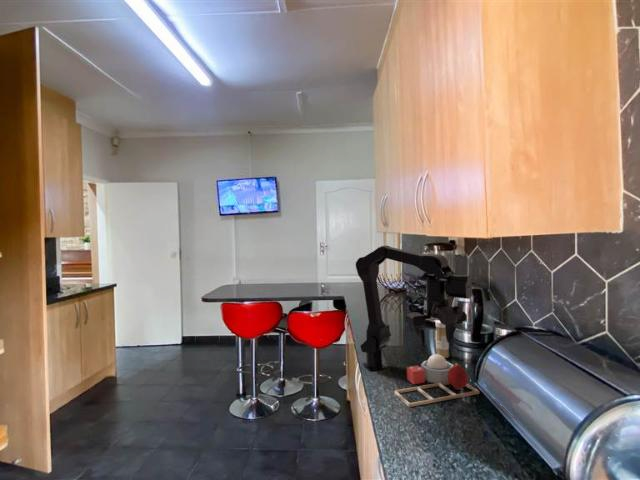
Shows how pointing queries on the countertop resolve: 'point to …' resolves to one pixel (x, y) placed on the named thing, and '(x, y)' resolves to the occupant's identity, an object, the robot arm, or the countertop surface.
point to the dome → (437, 362)
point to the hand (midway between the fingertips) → (435, 343)
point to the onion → (457, 377)
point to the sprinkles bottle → (441, 340)
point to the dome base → (427, 374)
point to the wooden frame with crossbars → (431, 397)
